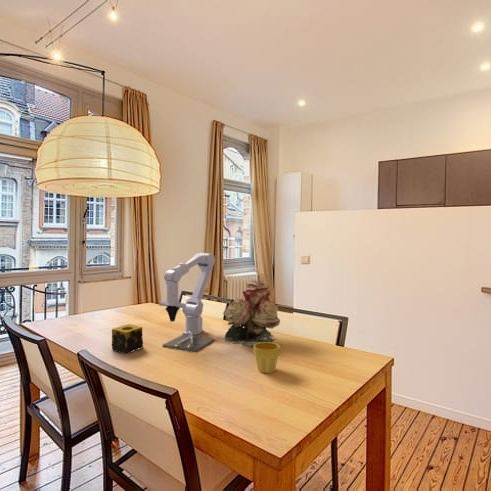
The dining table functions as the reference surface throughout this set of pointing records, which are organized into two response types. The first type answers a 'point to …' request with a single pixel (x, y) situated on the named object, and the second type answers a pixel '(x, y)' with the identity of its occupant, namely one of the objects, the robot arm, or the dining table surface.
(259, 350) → the plant pot
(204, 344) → the plate
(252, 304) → the rose bouquet
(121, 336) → the candle
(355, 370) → the dining table surface
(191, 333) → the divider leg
